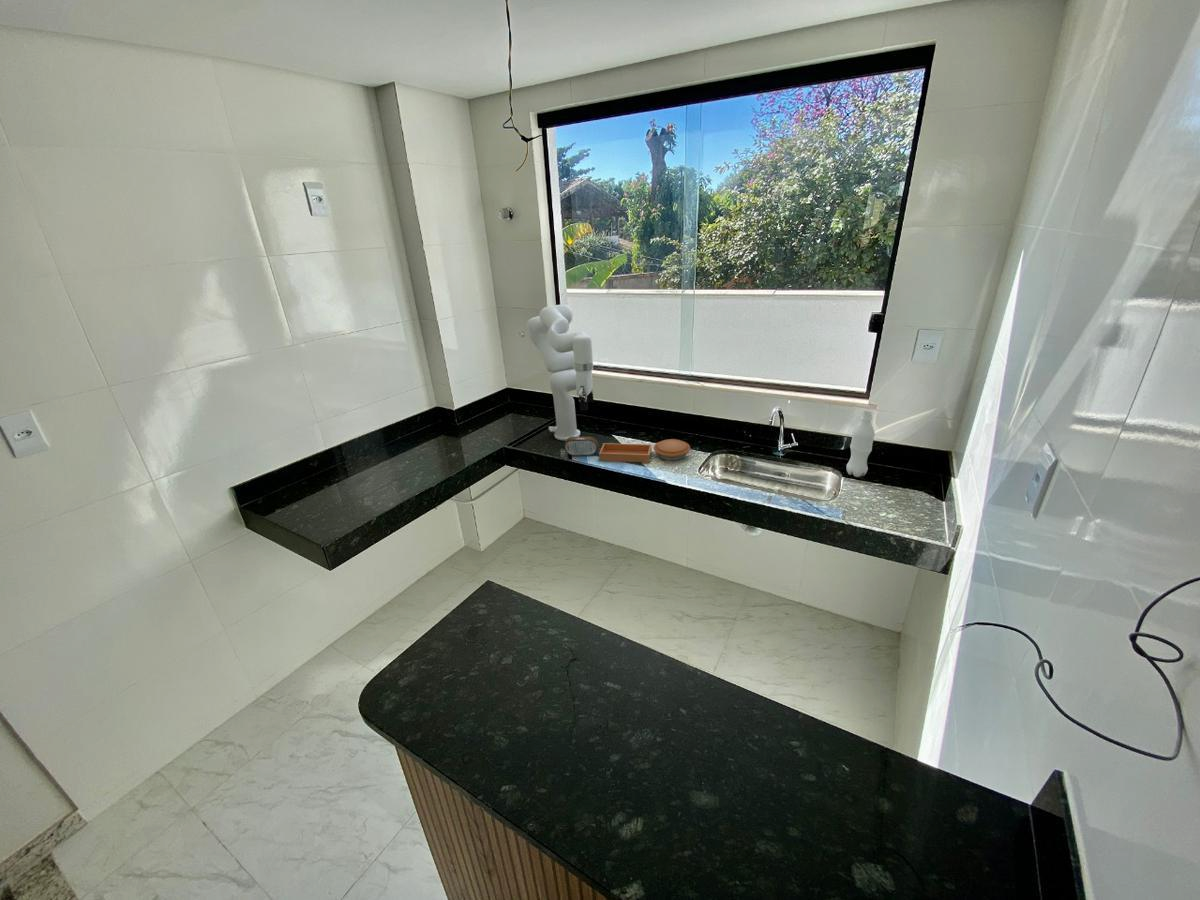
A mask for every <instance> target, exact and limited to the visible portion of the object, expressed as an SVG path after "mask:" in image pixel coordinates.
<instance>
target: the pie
mask: <svg viewBox="0 0 1200 900" xmlns="http://www.w3.org/2000/svg"><path fill="white" fill-rule="evenodd" d="M653 450H654V451H655V453H656V454H657V455H658V457H659V458H660V459H662V460H664V461H679V460H682V459H684V458H685V456H687V454H688V453H689V452H690V451H691V445H690V444H689V443H688V442H686V441H684V440H680V439H677V438H676V439H675V438H670V439H664V440H663V439H662V440H661V441H657V442H656V443H655V444H654V446H653Z"/></svg>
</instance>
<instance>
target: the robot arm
mask: <svg viewBox="0 0 1200 900" xmlns="http://www.w3.org/2000/svg"><path fill="white" fill-rule="evenodd" d="M573 316H574V315H573V311H572V309H571V307H570V306H569V305H568V304H565V303H563V304H562V303H561V304H555V305H548V306H545V307H543V308H542V309H541V310H540V311H539V314H538V315H537V316H533V317H531V318H530V319H528V321H527V322H526V330H527V333H528V336H529V339H530V340H531V342H532V343H533V344H534V346H535V347H536V349H537V351H538V352H539V354H540V356H541V359H542V362H543V363H544V365H545V368H546V370H547V371H548V372H549V373H552V374H551V375H550V376H549V381H548V382H549V386H550V390H551V394H552V397H553V407H554V416H555V426H548V431H549V433H554V434H553V435H554V436H553V437H554V438H555V440H558V441H564V442H565V441H566V440H567V439H568V438H569V437H581V430H580V429H578V426H577V415H576V405H575V399H574V397H573V395H571V394H570V393H569V392H572V391H575V393H576V396H578V403H579V410H580V411H583V412H585V411H586V412H587V411H588V410H589V406H588V405H589V404H588V403H594V393H593V392H594V390H593V389H594V381H593V379H594V378H593V370H594V360H593V344H592V338H591V337H592V336H590V335H589V334H586V333H585V332H584V331H583V330H576V331H569V328H570V324H571V322H572V321H573ZM568 331H569V332H568Z"/></svg>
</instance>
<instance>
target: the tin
mask: <svg viewBox="0 0 1200 900" xmlns="http://www.w3.org/2000/svg"><path fill="white" fill-rule="evenodd" d="M599 446H600V444H599V441H598V440H597V439H596V438H595V437H593V436H579V437H569V438H568V439H567V440H566V441H565V440H564V446H563V447H564V448H563V449H564V451H565V452H566V454H568V455H569V456H572V457H573V456H578V457H579V456H581V457H582V456H589V457H590V456H593V455H595V454H597V452H598V450H599Z"/></svg>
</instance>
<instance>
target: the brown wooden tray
mask: <svg viewBox="0 0 1200 900" xmlns="http://www.w3.org/2000/svg"><path fill="white" fill-rule="evenodd" d="M652 449H653V447H652V444H648V443H647V444H643V443H615V442H613V443H610V442H604V443H602V446H601V448H600V450H599V453H598V457H599V459H598V460H599V462H617V463H618V462H619V463H620V462H623V463H647V464H648V463H650V460H651V457H652V452H653V451H652Z"/></svg>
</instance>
